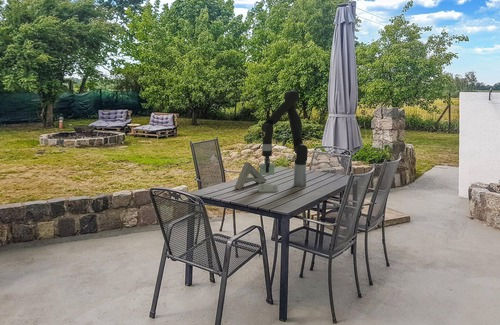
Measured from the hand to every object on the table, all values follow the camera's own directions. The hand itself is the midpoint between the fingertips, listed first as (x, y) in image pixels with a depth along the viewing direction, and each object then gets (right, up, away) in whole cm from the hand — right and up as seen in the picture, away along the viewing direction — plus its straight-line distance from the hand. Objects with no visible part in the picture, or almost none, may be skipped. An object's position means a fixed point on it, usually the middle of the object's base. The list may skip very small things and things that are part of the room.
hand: (267, 171), depth 291 cm
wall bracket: (-12, -11, +9) cm, 19 cm away
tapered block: (0, -2, 0) cm, 2 cm away
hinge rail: (0, -14, -7) cm, 15 cm away
